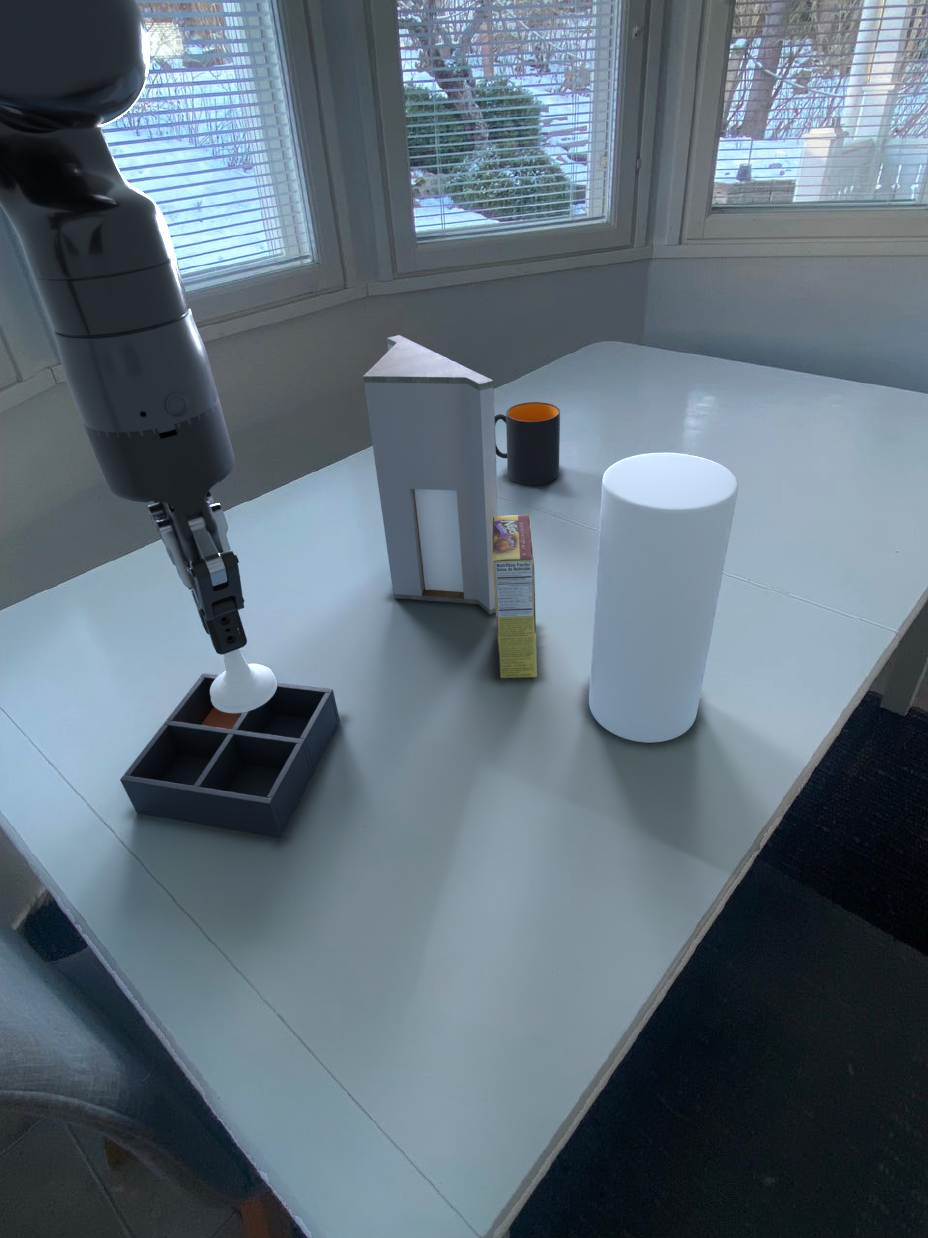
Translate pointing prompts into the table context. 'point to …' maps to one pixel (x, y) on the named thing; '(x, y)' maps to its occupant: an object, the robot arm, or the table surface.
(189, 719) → the tray
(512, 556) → the candy box
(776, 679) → the table surface
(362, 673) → the table surface
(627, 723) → the tall pillar cylinder
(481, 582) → the cabinet
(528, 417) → the mug
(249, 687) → the chess piece
